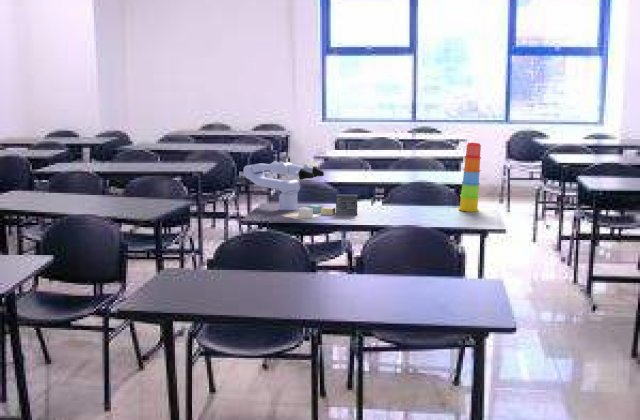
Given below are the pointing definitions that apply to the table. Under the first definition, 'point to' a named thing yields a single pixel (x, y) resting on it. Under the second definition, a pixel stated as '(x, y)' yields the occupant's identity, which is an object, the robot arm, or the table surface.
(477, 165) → the stacking cups
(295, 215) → the building board
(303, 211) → the white brick
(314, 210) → the teal brick
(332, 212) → the mustard brick
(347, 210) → the small box
